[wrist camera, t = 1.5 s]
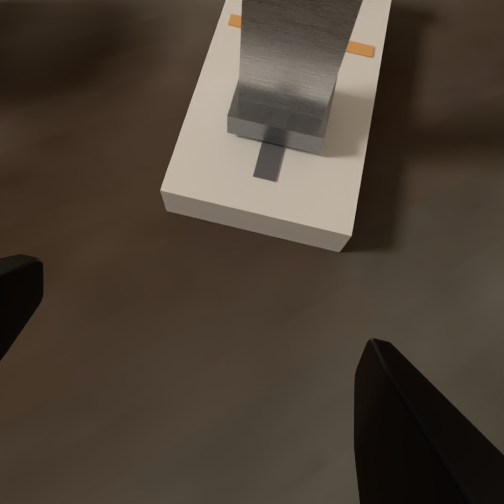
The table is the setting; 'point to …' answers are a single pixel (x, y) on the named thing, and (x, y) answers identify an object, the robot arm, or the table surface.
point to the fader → (290, 69)
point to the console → (277, 147)
